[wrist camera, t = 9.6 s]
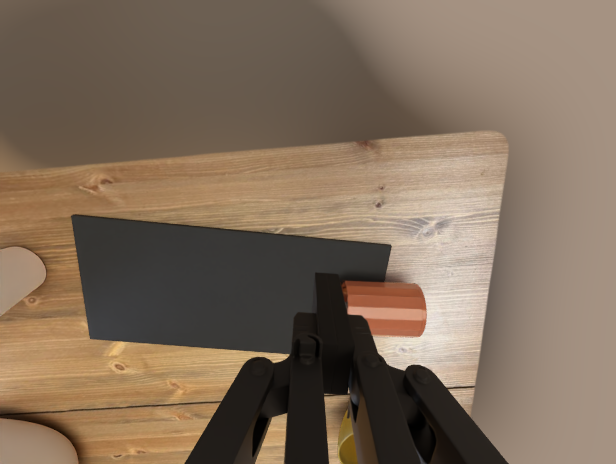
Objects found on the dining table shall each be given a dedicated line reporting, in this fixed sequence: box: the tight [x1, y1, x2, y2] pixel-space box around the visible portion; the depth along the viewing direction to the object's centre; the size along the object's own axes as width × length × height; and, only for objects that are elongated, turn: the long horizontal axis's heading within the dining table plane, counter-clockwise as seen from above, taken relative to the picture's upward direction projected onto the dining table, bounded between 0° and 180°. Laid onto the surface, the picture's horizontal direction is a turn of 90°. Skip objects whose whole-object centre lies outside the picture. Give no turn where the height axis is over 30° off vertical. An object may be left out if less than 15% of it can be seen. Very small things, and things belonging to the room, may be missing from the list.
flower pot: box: [338, 409, 358, 464], centre depth 48 cm, size 10×10×7 cm
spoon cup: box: [342, 280, 427, 338], centre depth 40 cm, size 7×7×10 cm
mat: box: [71, 215, 392, 354], centre depth 43 cm, size 44×20×1 cm, turn 84°
